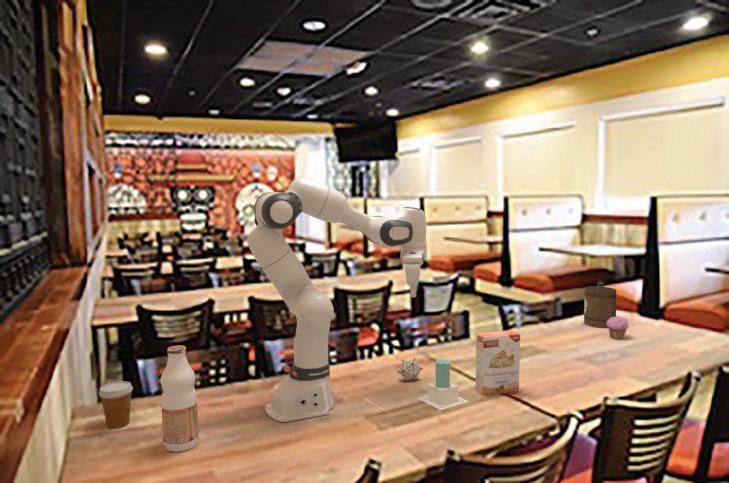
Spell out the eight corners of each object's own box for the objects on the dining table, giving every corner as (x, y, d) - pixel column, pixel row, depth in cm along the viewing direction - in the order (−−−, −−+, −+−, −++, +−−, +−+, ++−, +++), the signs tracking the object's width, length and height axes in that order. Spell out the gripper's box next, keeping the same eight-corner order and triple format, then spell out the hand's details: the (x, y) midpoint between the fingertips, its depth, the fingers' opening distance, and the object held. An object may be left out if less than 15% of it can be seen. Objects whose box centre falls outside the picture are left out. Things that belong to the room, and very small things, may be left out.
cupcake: (602, 336, 253) (602, 315, 252) (617, 334, 256) (618, 313, 255) (616, 341, 245) (617, 319, 244) (632, 339, 247) (632, 318, 246)
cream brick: (441, 405, 175) (441, 390, 175) (427, 398, 181) (427, 384, 180) (458, 400, 179) (458, 386, 178) (444, 394, 185) (444, 379, 184)
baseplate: (440, 412, 172) (440, 409, 172) (417, 400, 182) (417, 397, 182) (468, 403, 178) (468, 400, 178) (444, 392, 188) (444, 389, 188)
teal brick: (449, 387, 177) (449, 363, 176) (435, 387, 177) (435, 363, 177) (449, 382, 181) (449, 359, 180) (435, 382, 182) (435, 359, 181)
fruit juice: (174, 456, 146) (168, 355, 143) (157, 445, 153) (152, 348, 150) (205, 444, 153) (200, 347, 150) (188, 434, 160) (183, 340, 157)
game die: (414, 392, 199) (421, 376, 192) (392, 382, 200) (398, 366, 194) (420, 373, 206) (427, 357, 199) (399, 364, 207) (405, 348, 200)
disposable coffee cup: (125, 415, 174) (123, 378, 173) (140, 422, 168) (138, 385, 167) (95, 425, 167) (92, 387, 165) (110, 434, 160) (107, 394, 159)
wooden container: (592, 319, 286) (593, 277, 284) (621, 324, 275) (622, 281, 272) (578, 324, 276) (579, 281, 274) (607, 329, 265) (608, 285, 263)
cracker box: (483, 397, 183) (483, 337, 181) (474, 391, 189) (475, 332, 187) (520, 393, 187) (520, 333, 184) (510, 386, 192) (511, 329, 190)
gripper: (406, 250, 197) (406, 288, 198) (402, 258, 177) (402, 300, 178) (423, 250, 196) (424, 288, 198) (421, 258, 176) (422, 300, 177)
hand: (414, 294), depth 188 cm, fingers open, 8 cm apart
